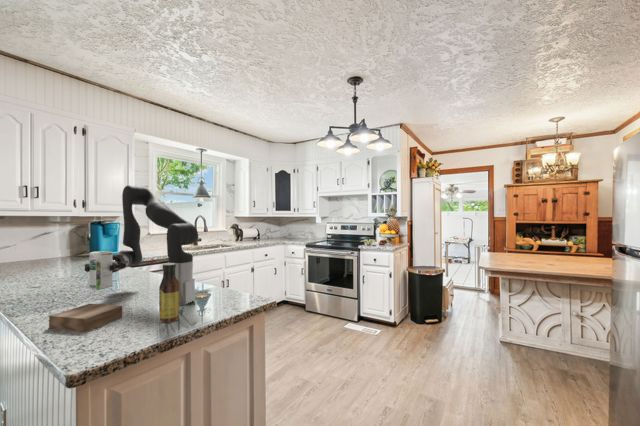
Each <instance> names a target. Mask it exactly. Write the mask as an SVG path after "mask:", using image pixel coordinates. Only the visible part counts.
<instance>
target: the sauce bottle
mask: <svg viewBox="0 0 640 426" xmlns="http://www.w3.org/2000/svg"><path fill="white" fill-rule="evenodd" d="M175 268H176V264H175V263H169V262H167V263H163V264H162V269H163V270H162V272H163V275H162V278H161V282H160V284H159V286H158V287H159V288H158V294H159V296H158V298H159V299H158V304H159V305H158V306H159V309H158V310H159V311H158V313H159V315H158V317H159V321H160V322H161V323H173V322H175V321H177V320H179V318H180V305H179V282H178V280H177V279H176V277H175Z"/></svg>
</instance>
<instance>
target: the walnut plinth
mask: <svg viewBox="0 0 640 426" xmlns="http://www.w3.org/2000/svg"><path fill="white" fill-rule="evenodd" d="M120 318H123V305H120V304H119V305H117V304H100V303H88V304H83V305H80V306H77V307H74V308H71V309H67V310H64V311H61V312H57V313H54V314H51V315H49V316H48V329H51V328H52V329H53V330H61V331H62V330H63V331H75V332H76V331H77V332H87V331H90V330H92V329H96V328H98V327H100V326H103V325H105V324H108V323H110V322H113V321H115V320H118V319H120Z"/></svg>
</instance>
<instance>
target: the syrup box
mask: <svg viewBox="0 0 640 426" xmlns="http://www.w3.org/2000/svg"><path fill="white" fill-rule="evenodd" d="M113 255H114V253H113V251H108V250H107V251H103V250H100V251H99V250H98V251H91V252H89V261H88V264H89V272H88V276H89V277H88V279H89V281H88V283H89V284H88V285H89V288H88V289H89V290H96V291H100V290H105V289H109V288H113V273H112V271H110V265H112V263H113Z"/></svg>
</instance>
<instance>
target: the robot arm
mask: <svg viewBox="0 0 640 426" xmlns="http://www.w3.org/2000/svg"><path fill="white" fill-rule="evenodd" d="M121 197H122V198H121V199H122V213H123V214H122V216H123V237H122V244H123V246H125V247H129V248H131V250H127V249H125V250H120V251H119V252H118V253H115V254H114V253H113V263H112V265H110V271H112V274H113V273H117V272H119V271H122V270H124V269H127V268H128V267H129V266H138V265H140V264H141V263H142V261H143V254H142V250H141V249H142V248H141V243H140V241H141V226H140V224H139V223H138V221H137V219H136V217H135V215H134V213H133V206H135V205H137V206H144V207H145V215H146V217H147V218H148V219H149V221H151V222H152V223H153V224H155V225H157V226H159V227H161V228H164V229H167V230H166V247H167V248H166V249H167V251H166V252H167V258H168V263H175V264H176V268H175V277H176V279H177V280H178V282H179V306H187V305H188V303H189V304H191V303H193V302H195V299H196V298H195V297H196V296H195V292H196V291H195V287H196V286H195V285H196V283H195V278H193V276H194V275H193V271H194V270H193V267H194V266H193V265H194V262H193V261H194V258H193V257H194V255H193V254H192V253H189V252H186V251H184V250H183V246H190V245H193V244H195V243H196V242H197V241H198V239H199V231H198V230H197V228H196V226H195V225H194V224H193V223H191V222H189V221H187V220H185V219H184V218H183V217H181V216H180V215H178V214H177V213H176V212H175V211H174V210H172V209H171V208H170V207H168V206H167V205H166V204H165V203H164V202H162V201H161V199H159V198H158V197H157V196H156V195H154V193H153V192H152V191H151V190H150V189H149V188H148V187H146V186H142V185H141V186H140V185H129V184H128V185H125V186H124V188H123V190H122V196H121ZM84 271H85V272H86V273H89V263H86V264H84ZM192 301H193V302H192ZM190 302H191V303H190ZM186 304H187V305H186Z"/></svg>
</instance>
